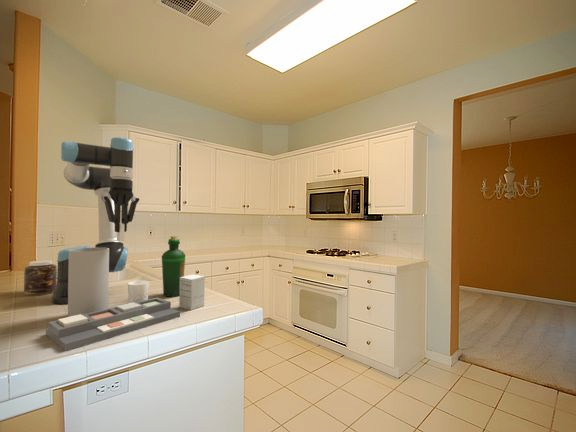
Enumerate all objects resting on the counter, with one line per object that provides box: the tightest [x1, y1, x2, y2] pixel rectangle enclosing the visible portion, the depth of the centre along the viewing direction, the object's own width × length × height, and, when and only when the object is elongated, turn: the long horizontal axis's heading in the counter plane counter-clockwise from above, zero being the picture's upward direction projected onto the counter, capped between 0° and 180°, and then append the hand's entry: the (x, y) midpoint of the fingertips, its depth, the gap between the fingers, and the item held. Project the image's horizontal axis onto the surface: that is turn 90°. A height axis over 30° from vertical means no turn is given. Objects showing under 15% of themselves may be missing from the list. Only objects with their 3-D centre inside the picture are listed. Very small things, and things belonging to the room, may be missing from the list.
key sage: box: [142, 301, 160, 307], centre depth 111 cm, size 6×6×2 cm
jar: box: [23, 259, 58, 297], centre depth 138 cm, size 12×12×15 cm
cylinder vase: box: [67, 247, 110, 317], centre depth 108 cm, size 12×12×25 cm
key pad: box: [45, 297, 181, 352], centre depth 100 cm, size 18×36×4 cm, turn 144°
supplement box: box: [178, 274, 205, 311], centre depth 121 cm, size 7×7×13 cm
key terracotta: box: [91, 312, 113, 319], centre depth 98 cm, size 6×6×2 cm
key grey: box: [115, 302, 141, 313], centre depth 105 cm, size 6×6×2 cm
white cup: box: [127, 279, 150, 303], centre depth 120 cm, size 8×8×10 cm
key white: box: [57, 314, 88, 327], centre depth 91 cm, size 6×6×2 cm
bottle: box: [161, 235, 186, 298], centre depth 138 cm, size 11×11×28 cm
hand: (120, 240), depth 110 cm, fingers closed
